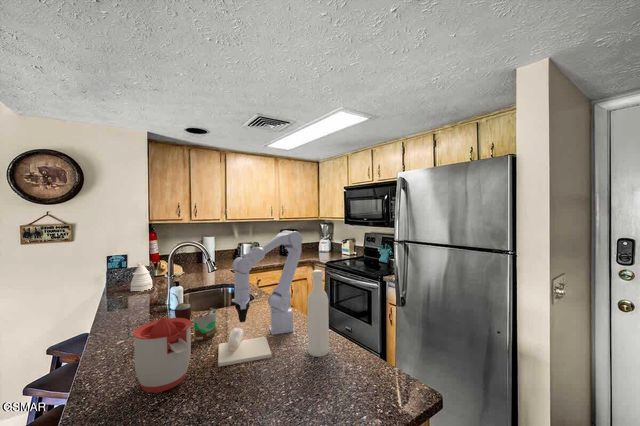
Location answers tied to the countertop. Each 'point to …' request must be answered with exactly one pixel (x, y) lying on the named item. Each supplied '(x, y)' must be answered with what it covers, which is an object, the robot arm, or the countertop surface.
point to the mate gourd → (182, 310)
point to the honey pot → (141, 279)
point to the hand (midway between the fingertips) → (242, 321)
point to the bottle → (318, 318)
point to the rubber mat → (244, 351)
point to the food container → (205, 325)
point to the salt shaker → (235, 338)
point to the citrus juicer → (162, 353)
